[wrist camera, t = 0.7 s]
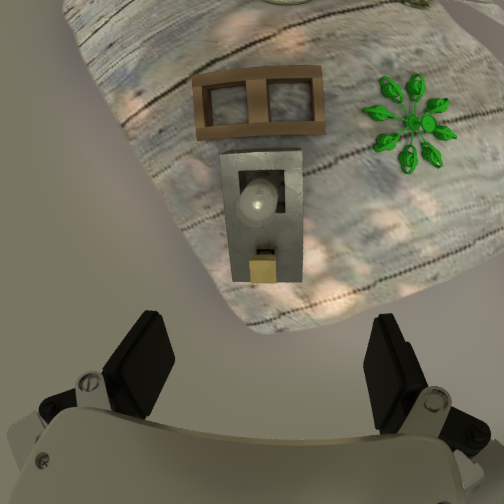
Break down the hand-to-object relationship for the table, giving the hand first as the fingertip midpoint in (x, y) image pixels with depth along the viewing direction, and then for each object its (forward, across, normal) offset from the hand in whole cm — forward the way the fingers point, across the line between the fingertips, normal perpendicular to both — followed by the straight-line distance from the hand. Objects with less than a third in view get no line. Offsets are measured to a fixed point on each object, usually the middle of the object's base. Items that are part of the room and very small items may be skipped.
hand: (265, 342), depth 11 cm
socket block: (+30, +2, +2) cm, 30 cm away
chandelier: (+29, -19, -11) cm, 37 cm away
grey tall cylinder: (+30, +2, -2) cm, 30 cm away
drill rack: (+29, +2, -13) cm, 32 cm away
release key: (+27, +3, +7) cm, 28 cm away
